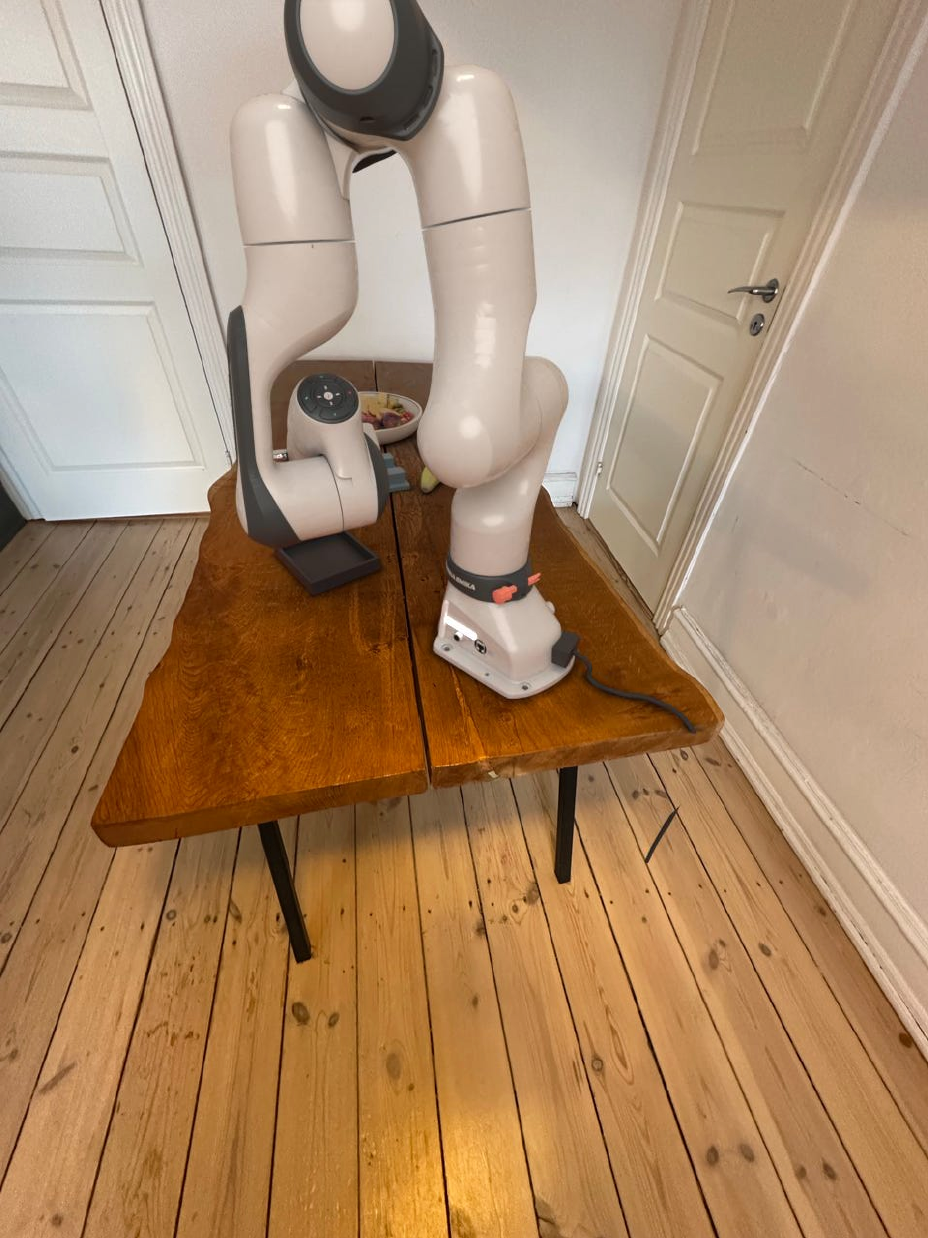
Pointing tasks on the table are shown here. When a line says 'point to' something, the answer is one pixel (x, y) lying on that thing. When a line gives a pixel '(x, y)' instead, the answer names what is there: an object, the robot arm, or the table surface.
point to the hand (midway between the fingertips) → (313, 484)
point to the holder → (395, 474)
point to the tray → (328, 561)
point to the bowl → (390, 415)
